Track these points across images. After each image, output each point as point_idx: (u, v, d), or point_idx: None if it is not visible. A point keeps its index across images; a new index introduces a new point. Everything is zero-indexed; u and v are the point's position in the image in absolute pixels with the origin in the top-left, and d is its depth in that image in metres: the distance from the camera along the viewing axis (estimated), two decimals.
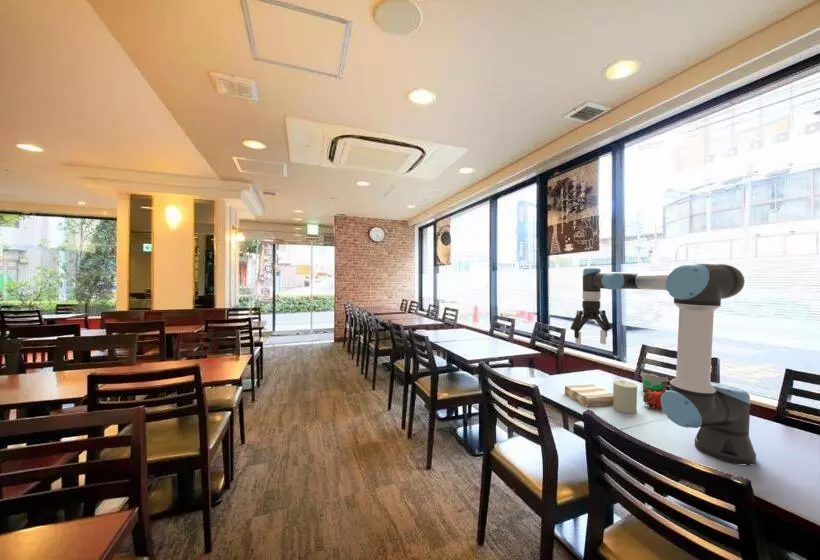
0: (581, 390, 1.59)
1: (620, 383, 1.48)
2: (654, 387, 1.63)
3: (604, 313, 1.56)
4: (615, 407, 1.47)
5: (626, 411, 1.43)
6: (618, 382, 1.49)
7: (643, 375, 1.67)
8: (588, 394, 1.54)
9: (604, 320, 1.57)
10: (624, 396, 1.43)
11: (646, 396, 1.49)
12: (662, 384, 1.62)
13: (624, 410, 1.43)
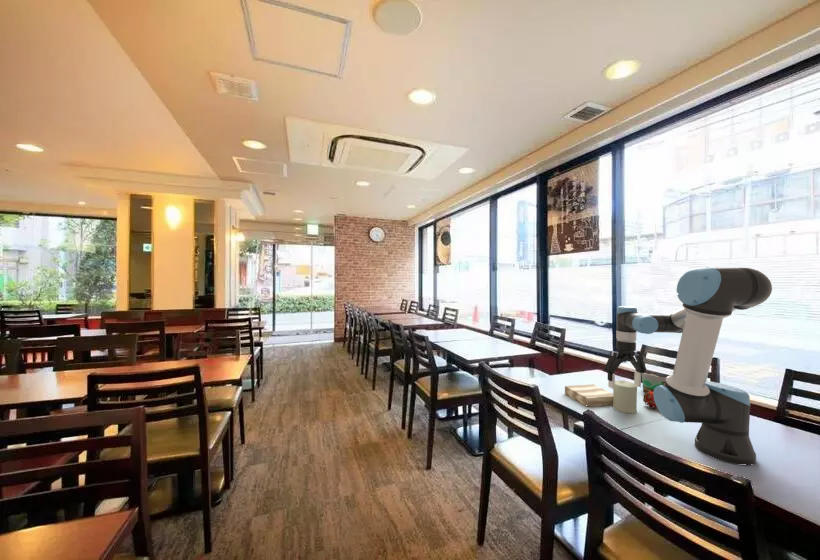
0: (581, 390, 1.59)
1: (620, 383, 1.48)
2: (654, 387, 1.63)
3: (639, 354, 1.47)
4: (615, 407, 1.47)
5: (626, 411, 1.43)
6: (618, 382, 1.49)
7: (643, 375, 1.67)
8: (588, 394, 1.54)
9: (639, 361, 1.48)
10: (624, 396, 1.43)
11: (646, 396, 1.49)
12: (662, 384, 1.62)
13: (624, 410, 1.43)
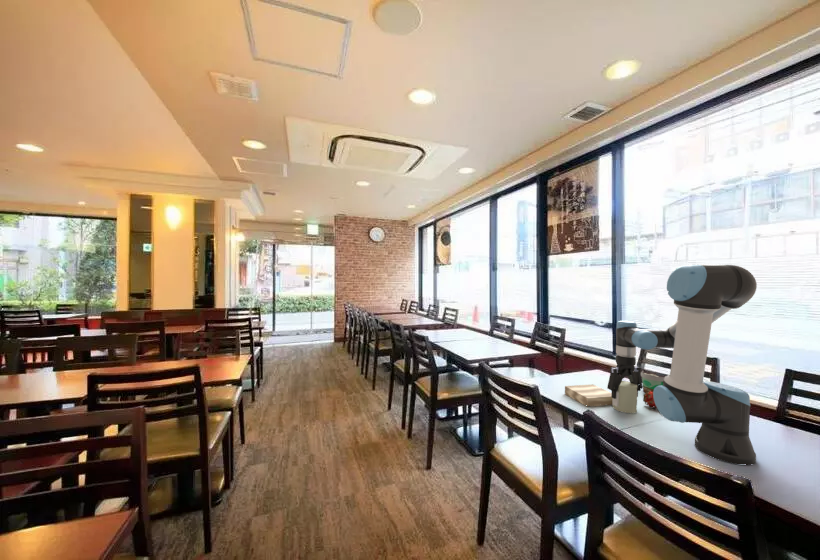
0: (581, 390, 1.59)
1: None
2: (654, 387, 1.63)
3: (639, 370, 1.47)
4: (615, 407, 1.47)
5: (626, 411, 1.43)
6: None
7: (643, 375, 1.67)
8: (588, 394, 1.54)
9: (637, 378, 1.47)
10: (624, 396, 1.43)
11: (646, 396, 1.49)
12: (662, 384, 1.62)
13: (624, 410, 1.43)
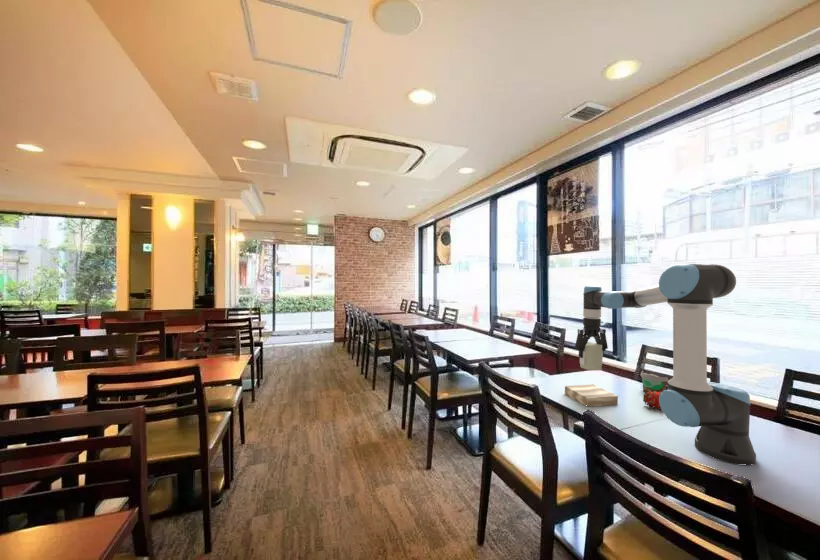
0: (581, 390, 1.59)
1: (587, 344, 1.59)
2: (654, 387, 1.63)
3: (604, 332, 1.58)
4: (582, 366, 1.58)
5: (591, 368, 1.54)
6: None
7: (643, 375, 1.67)
8: (588, 394, 1.54)
9: (602, 339, 1.59)
10: (589, 355, 1.55)
11: (646, 396, 1.49)
12: (662, 384, 1.62)
13: (589, 368, 1.55)
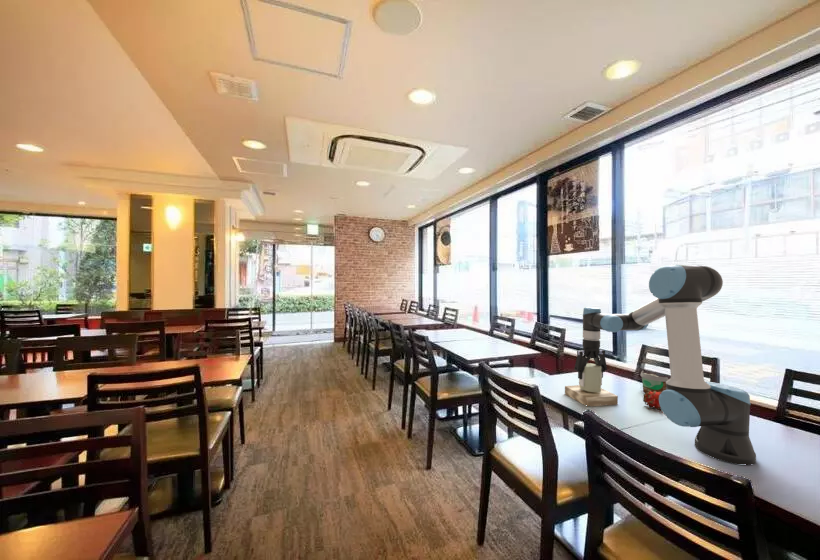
0: (581, 390, 1.59)
1: (586, 365, 1.59)
2: (654, 387, 1.63)
3: (603, 353, 1.58)
4: (581, 387, 1.58)
5: (591, 390, 1.54)
6: None
7: (643, 375, 1.67)
8: (588, 394, 1.54)
9: (602, 360, 1.59)
10: (589, 376, 1.55)
11: (646, 396, 1.49)
12: (662, 384, 1.62)
13: (589, 389, 1.55)
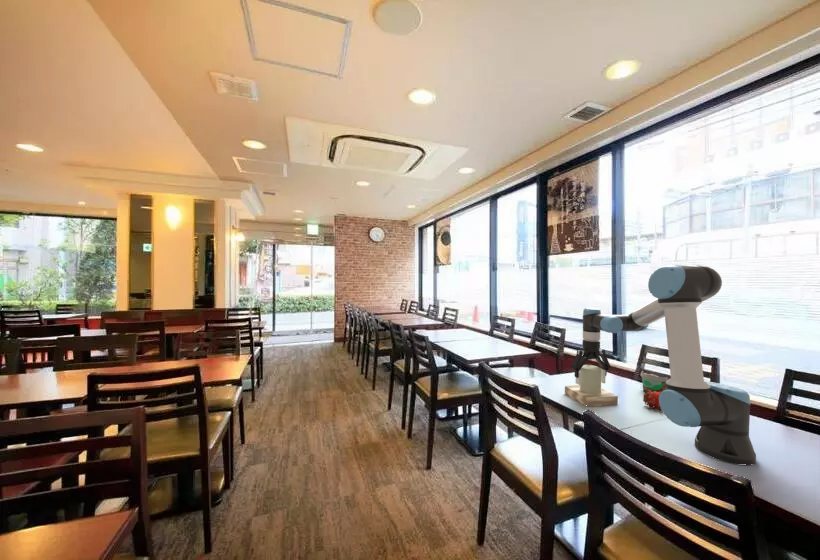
0: None
1: (586, 367, 1.59)
2: (654, 387, 1.63)
3: (604, 352, 1.58)
4: (581, 389, 1.58)
5: (591, 392, 1.54)
6: (585, 366, 1.60)
7: (643, 375, 1.67)
8: (588, 394, 1.54)
9: (604, 359, 1.59)
10: (589, 378, 1.55)
11: (646, 396, 1.49)
12: (662, 384, 1.62)
13: (589, 391, 1.55)
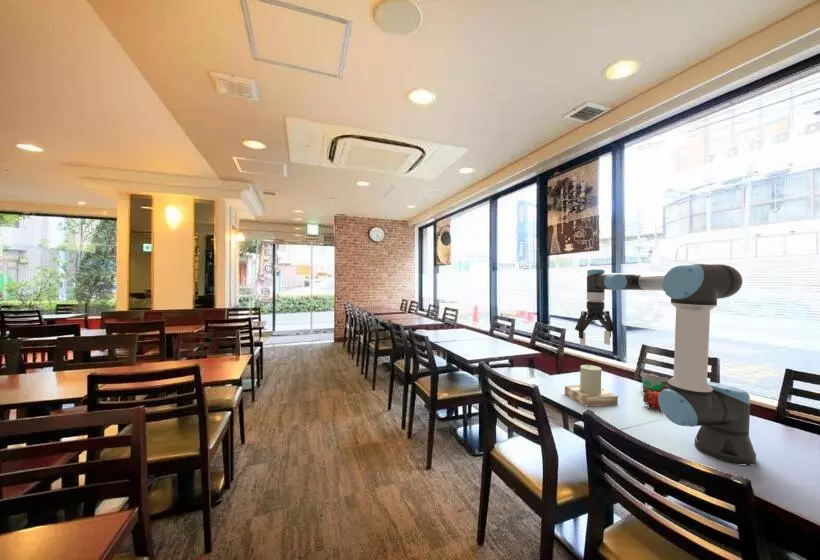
0: None
1: (586, 367, 1.59)
2: (654, 387, 1.63)
3: (608, 314, 1.57)
4: (581, 389, 1.58)
5: (591, 392, 1.54)
6: (585, 366, 1.60)
7: (643, 375, 1.67)
8: (588, 394, 1.54)
9: (608, 321, 1.58)
10: (589, 378, 1.55)
11: (646, 396, 1.49)
12: (662, 384, 1.62)
13: (589, 391, 1.55)
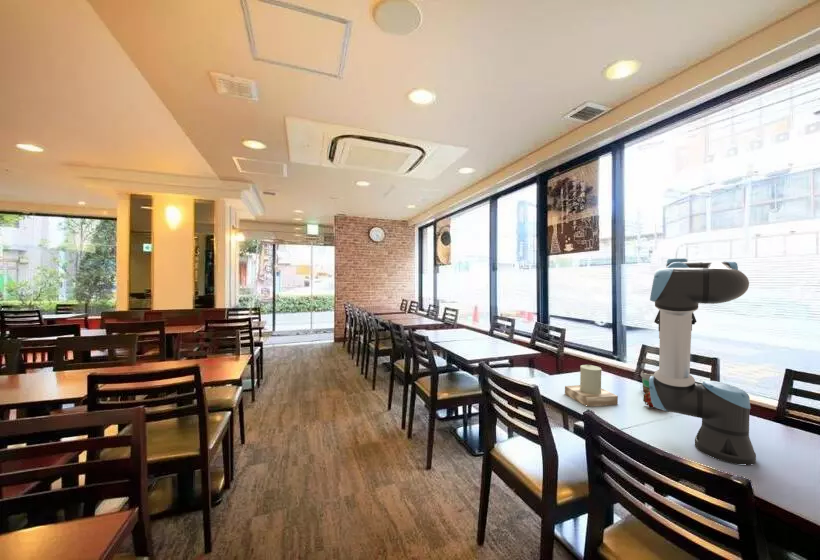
0: None
1: (586, 367, 1.59)
2: None
3: None
4: (581, 389, 1.58)
5: (591, 392, 1.54)
6: (585, 366, 1.60)
7: (643, 375, 1.67)
8: (588, 394, 1.54)
9: None
10: (589, 378, 1.55)
11: (646, 396, 1.49)
12: None
13: (589, 391, 1.55)
